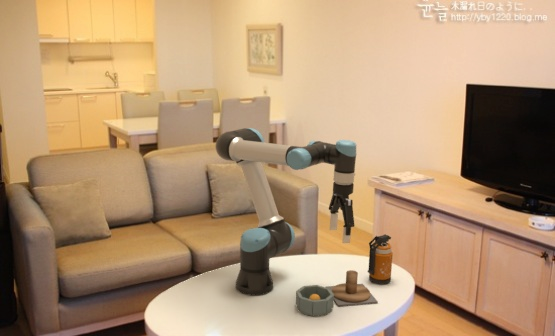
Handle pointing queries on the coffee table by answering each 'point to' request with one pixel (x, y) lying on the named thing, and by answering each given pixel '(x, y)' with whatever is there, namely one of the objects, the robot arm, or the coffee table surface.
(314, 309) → the slate bowl
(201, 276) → the coffee table surface
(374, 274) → the canister
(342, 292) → the walnut lid
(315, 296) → the orange ball
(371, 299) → the rubber mat
